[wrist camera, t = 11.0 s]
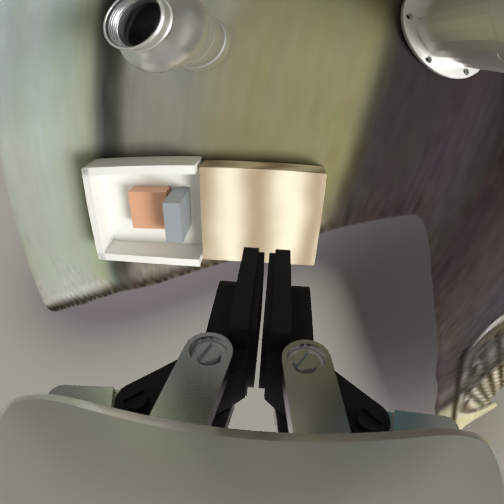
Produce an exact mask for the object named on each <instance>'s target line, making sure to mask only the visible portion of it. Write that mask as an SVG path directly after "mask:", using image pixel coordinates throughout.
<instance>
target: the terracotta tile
mask: <svg viewBox="0 0 504 504" xmlns="http://www.w3.org/2000/svg"><path fill="white" fill-rule="evenodd" d="M170 192H171V187H170V186H134V187H133V188H132V189H131V190H130V191H129V192H128V196H129V204H130V210H131V217H132V224H133V228H146V229H165V225H164V216H163V206H162V203H163V201H164V200H165V199H166V197H167V196H168V195H169V193H170Z"/></svg>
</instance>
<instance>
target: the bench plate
mask: <svg viewBox="0 0 504 504" xmlns="http://www.w3.org/2000/svg"><path fill="white" fill-rule="evenodd" d="M199 174H200V203H201V226H202V245H203V259H213V260H230V261H241V260H242V255H243V250H244V247H253V248H259V252H265V257H264V263H269V253H275V250H276V249H282V250H290V251H291V264H301V265H314V262H315V256H316V248H317V243H318V236H319V230H320V223H321V216H322V208H323V201H324V193H325V185H326V177H327V173H326V171H325V169H324V167H323V166H315V165H302V164H289V163H273V162H253V161H227V160H204V161H203V163H202V164H201V166H200V167H199Z"/></svg>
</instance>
